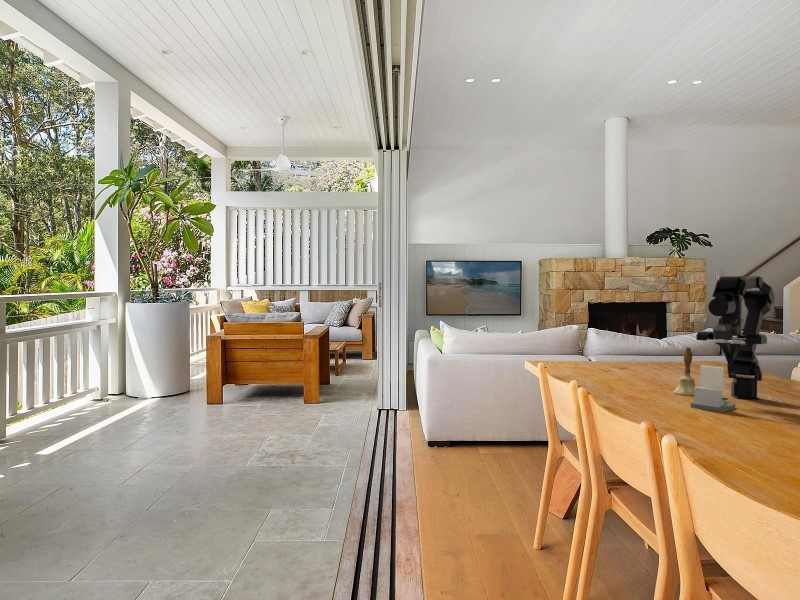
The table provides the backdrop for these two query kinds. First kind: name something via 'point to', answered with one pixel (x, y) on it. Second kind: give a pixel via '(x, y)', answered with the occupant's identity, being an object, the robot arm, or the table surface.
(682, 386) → the hand bell
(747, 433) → the table surface
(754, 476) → the table surface
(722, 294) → the robot arm
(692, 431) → the table surface
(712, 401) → the gauge base
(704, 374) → the cream block
